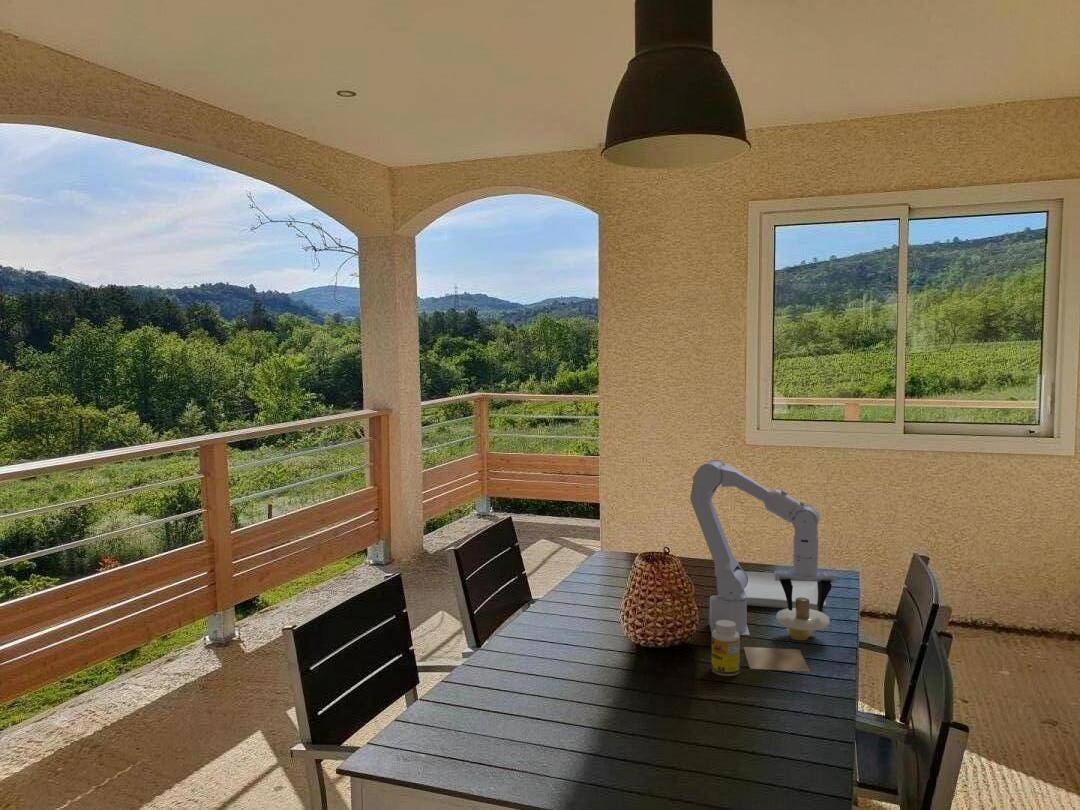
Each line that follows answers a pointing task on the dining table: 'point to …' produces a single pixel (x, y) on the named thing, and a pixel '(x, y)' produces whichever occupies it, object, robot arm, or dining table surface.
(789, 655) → the mat
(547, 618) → the dining table surface
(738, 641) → the supplement bottle
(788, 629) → the cup
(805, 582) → the square plate
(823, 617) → the lid
